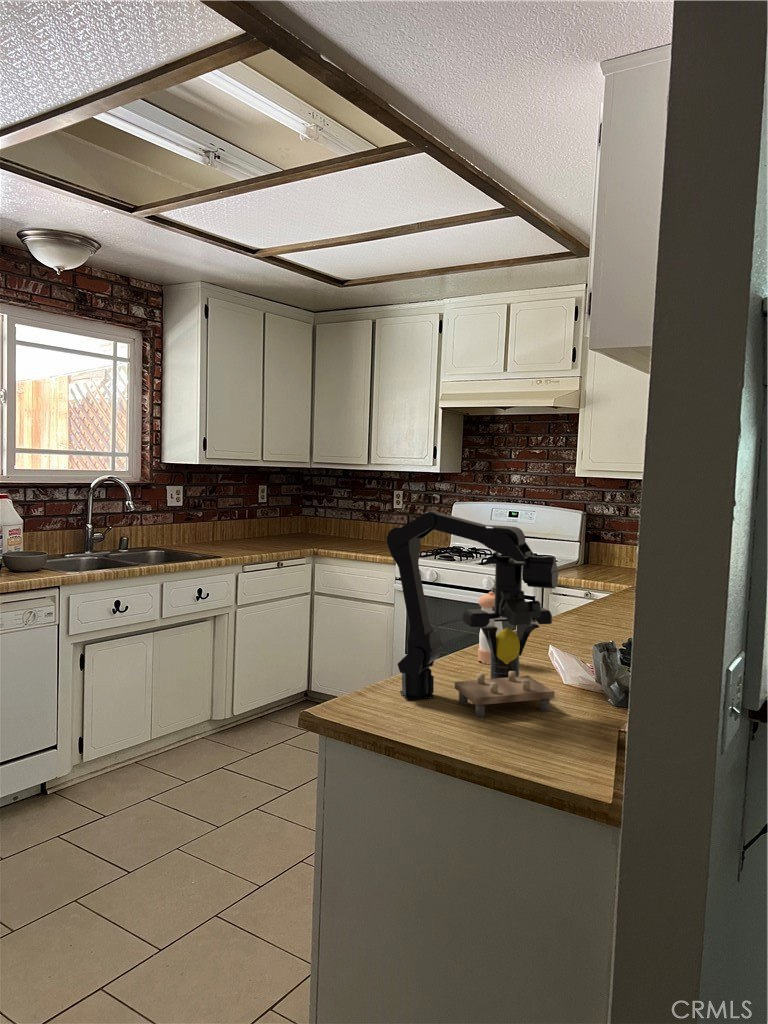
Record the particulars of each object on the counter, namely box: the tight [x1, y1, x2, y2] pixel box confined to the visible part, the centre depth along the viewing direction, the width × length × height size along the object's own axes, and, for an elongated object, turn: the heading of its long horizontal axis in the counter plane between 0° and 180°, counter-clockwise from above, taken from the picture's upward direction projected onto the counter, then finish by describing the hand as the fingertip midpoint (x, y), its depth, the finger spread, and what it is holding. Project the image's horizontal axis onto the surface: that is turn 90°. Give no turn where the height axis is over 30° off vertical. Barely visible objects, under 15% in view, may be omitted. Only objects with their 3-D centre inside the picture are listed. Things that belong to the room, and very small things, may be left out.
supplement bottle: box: [489, 653, 520, 679], centre depth 183 cm, size 7×7×12 cm
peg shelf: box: [454, 671, 555, 719], centre depth 169 cm, size 18×13×6 cm
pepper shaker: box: [477, 591, 504, 664], centre depth 209 cm, size 7×7×19 cm
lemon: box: [496, 627, 520, 664], centre depth 168 cm, size 6×6×8 cm
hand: (506, 655), depth 168 cm, fingers closed on lemon, 5 cm apart
